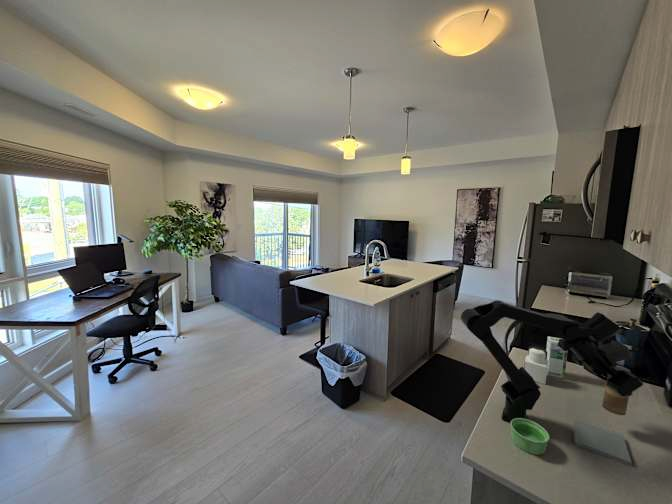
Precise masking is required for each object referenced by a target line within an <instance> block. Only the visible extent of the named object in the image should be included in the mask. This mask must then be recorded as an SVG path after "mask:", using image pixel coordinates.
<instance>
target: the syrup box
mask: <svg viewBox="0 0 672 504" xmlns="http://www.w3.org/2000/svg"><path fill="white" fill-rule="evenodd" d="M559 339H561V337H554V336H547V339H546V340H547V341H546V349H545V350H546V351H547V360H548V369H547V376H550V377H556V378H560V379H564V380H565V376H566V370H567V369H566V368H567V359H568V351H569V350H568V351H564V350H563V349H561V348H560V347H558V346H557V344H558V342H559Z"/></svg>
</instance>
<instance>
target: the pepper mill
mask: <svg viewBox="0 0 672 504" xmlns="http://www.w3.org/2000/svg"><path fill="white" fill-rule="evenodd" d="M613 368H614V369H616V370H625V371H628V372H630V373H631V370H630V369H629V368H626V367H624V366H621V365H619V364H618V365H617V366H616V367H613ZM613 373H614V372H613ZM616 374H617V373H616ZM610 377H611V376H610V375H608V376H607V379H606V381H605V386H604V388H605V389H604V394H603V400H602V408H603V409H604V410H606V411H607V412H609V413H612V414H615V415H617V416H626V414H627V408H628V403H629V399H630V398H629V397H630V396H621V395H619V394H618V393H617V392H615V391H614V390H613V389H611V388H610V387H608V386H607V381H608V379H609V378H610Z"/></svg>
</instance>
